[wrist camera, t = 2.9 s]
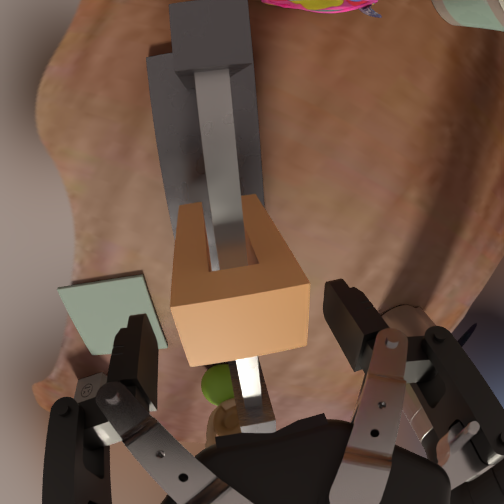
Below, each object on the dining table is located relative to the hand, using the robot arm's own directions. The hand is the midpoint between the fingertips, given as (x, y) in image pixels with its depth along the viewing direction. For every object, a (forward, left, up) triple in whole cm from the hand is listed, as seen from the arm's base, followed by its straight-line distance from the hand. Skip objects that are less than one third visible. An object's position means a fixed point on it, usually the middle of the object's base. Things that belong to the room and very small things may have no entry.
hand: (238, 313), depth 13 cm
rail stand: (0, 0, -15) cm, 15 cm away
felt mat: (+13, +11, -15) cm, 22 cm away
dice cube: (+20, +23, -15) cm, 34 cm away
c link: (0, 0, -10) cm, 10 cm away
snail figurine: (+3, +22, -15) cm, 27 cm away
